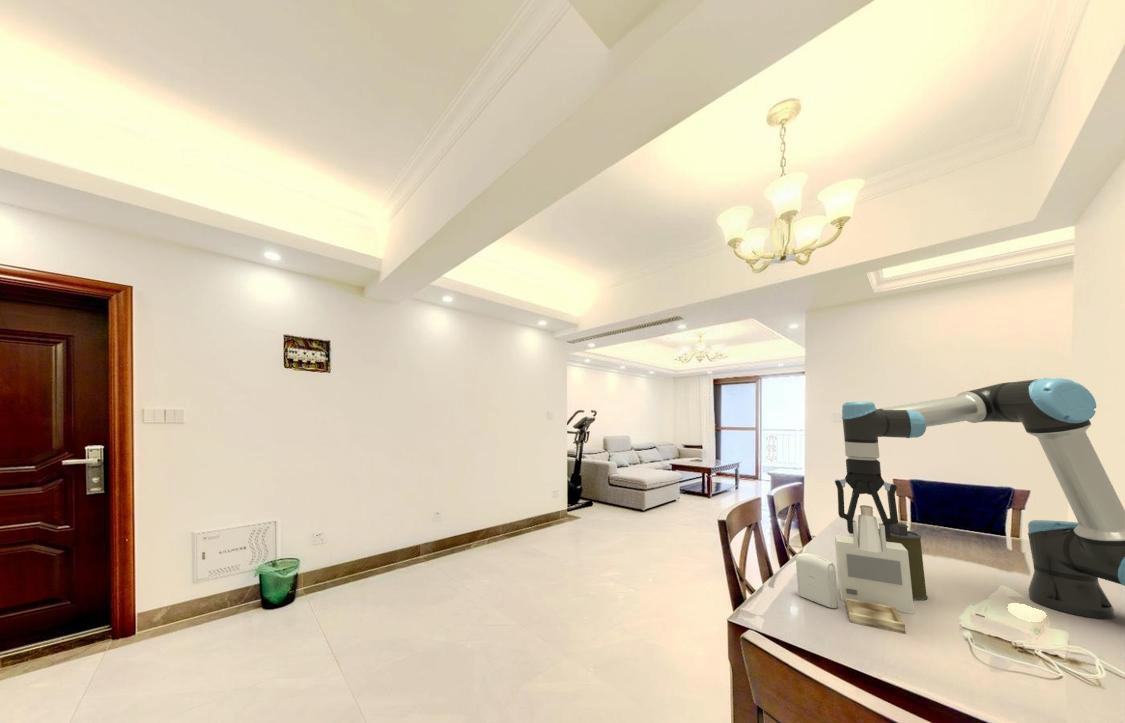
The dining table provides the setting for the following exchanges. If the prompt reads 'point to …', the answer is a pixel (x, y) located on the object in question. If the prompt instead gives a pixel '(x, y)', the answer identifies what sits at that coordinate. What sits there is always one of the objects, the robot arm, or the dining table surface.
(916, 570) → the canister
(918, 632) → the dining table surface
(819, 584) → the photo printer
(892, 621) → the tray
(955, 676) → the dining table surface
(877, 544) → the pepper shaker
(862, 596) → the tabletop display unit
